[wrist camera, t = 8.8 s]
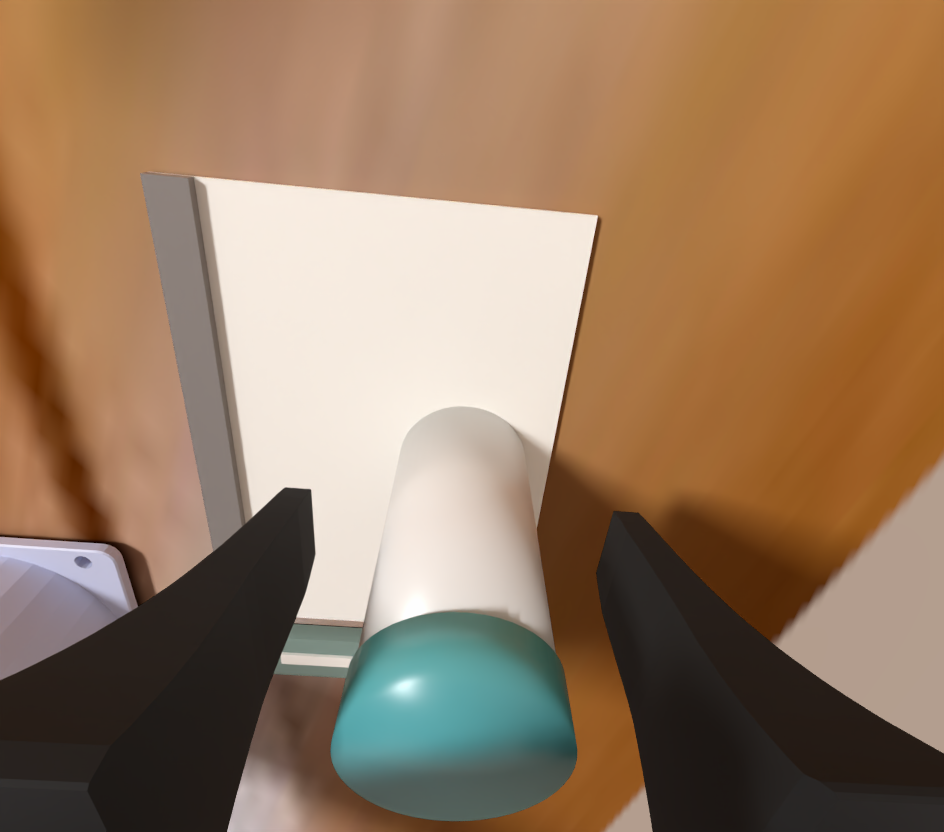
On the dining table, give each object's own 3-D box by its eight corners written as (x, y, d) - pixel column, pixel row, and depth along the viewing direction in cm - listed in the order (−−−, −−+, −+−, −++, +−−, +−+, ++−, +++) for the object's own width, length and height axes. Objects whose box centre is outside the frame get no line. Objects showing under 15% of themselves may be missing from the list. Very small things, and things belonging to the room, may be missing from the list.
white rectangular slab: (231, 610, 19) (226, 619, 18) (149, 171, 12) (140, 173, 11) (516, 628, 19) (517, 637, 19) (597, 215, 12) (600, 218, 12)
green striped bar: (267, 658, 20) (260, 675, 19) (261, 621, 19) (255, 638, 18) (481, 671, 20) (481, 688, 20) (486, 635, 19) (487, 652, 19)
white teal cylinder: (393, 506, 16) (331, 814, 9) (399, 396, 14) (329, 673, 7) (517, 518, 16) (551, 826, 9) (539, 410, 15) (603, 693, 7)
